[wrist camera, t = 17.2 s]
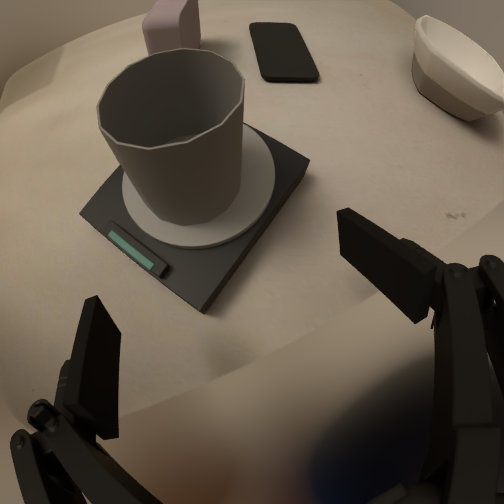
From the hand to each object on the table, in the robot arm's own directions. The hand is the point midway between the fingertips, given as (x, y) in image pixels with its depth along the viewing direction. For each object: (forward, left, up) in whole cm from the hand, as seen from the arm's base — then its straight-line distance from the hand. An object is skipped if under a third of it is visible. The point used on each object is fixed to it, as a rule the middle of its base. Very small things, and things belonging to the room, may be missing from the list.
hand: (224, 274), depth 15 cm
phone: (+31, +14, -10) cm, 35 cm away
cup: (+6, +8, -7) cm, 12 cm away
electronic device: (+21, +24, -10) cm, 33 cm away
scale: (+6, +8, -10) cm, 14 cm away
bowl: (+45, -9, -10) cm, 47 cm away
